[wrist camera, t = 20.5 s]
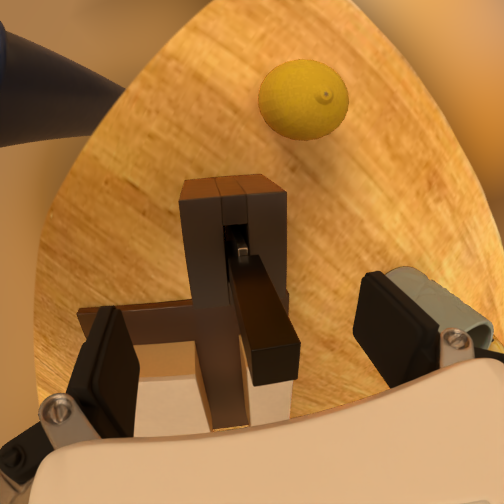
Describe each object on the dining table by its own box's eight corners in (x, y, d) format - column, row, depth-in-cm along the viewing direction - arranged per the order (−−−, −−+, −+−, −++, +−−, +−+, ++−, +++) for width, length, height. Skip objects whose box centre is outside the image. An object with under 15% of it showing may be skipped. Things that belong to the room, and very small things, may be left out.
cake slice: (238, 334, 27) (246, 371, 22) (280, 328, 28) (294, 363, 23) (245, 407, 32) (252, 441, 27) (277, 402, 32) (287, 434, 28)
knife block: (184, 180, 22) (178, 200, 15) (262, 173, 23) (287, 191, 16) (194, 263, 24) (193, 309, 18) (264, 255, 25) (286, 298, 19)
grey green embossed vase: (438, 270, 30) (506, 323, 19) (401, 338, 33) (452, 401, 23) (381, 251, 27) (461, 317, 17) (340, 333, 31) (392, 414, 20)
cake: (97, 346, 25) (85, 382, 21) (194, 340, 26) (195, 378, 22) (132, 416, 30) (129, 448, 25) (211, 412, 31) (214, 446, 27)
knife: (216, 205, 23) (250, 341, 8) (237, 204, 23) (302, 332, 9) (219, 236, 24) (253, 394, 10) (238, 234, 24) (297, 386, 10)
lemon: (246, 72, 19) (271, 43, 12) (315, 73, 20) (367, 53, 13) (252, 140, 21) (279, 145, 14) (319, 137, 22) (372, 144, 15)
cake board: (79, 308, 24) (75, 314, 23) (286, 287, 27) (289, 293, 26) (135, 426, 32) (135, 432, 31) (281, 413, 35) (283, 419, 34)
